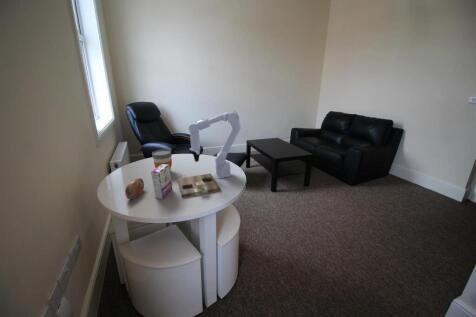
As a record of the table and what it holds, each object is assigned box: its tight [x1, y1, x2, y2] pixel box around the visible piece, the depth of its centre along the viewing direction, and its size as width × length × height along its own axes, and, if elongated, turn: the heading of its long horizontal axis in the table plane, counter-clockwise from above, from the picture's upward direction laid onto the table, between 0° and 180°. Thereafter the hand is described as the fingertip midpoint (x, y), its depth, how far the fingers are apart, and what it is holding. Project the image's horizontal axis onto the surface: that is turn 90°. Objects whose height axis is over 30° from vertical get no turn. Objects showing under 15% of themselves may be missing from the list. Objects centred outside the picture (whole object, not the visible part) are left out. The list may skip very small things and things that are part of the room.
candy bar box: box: [150, 164, 173, 200], centre depth 122 cm, size 11×5×16 cm, turn 168°
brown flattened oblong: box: [124, 178, 145, 200], centre depth 123 cm, size 15×3×8 cm, turn 174°
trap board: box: [176, 173, 221, 198], centre depth 134 cm, size 22×22×2 cm
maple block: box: [196, 181, 205, 191], centre depth 125 cm, size 4×4×4 cm
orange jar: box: [152, 149, 173, 174], centre depth 151 cm, size 13×13×15 cm
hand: (196, 161), depth 145 cm, fingers closed
